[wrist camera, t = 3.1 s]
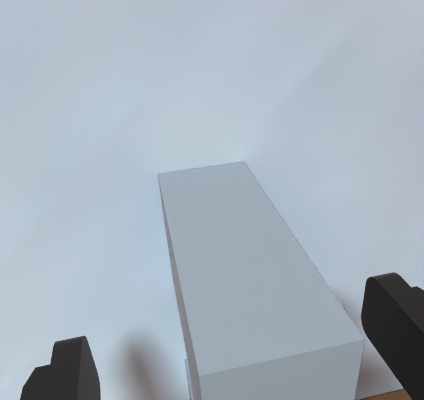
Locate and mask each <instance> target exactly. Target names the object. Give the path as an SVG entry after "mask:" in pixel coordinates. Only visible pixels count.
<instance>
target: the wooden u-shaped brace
mask: <svg viewBox="0 0 424 400" xmlns="http://www.w3.org/2000/svg"><path fill="white" fill-rule="evenodd" d="M361 400H412V399H411V397H410V396H409V395H408V393H407V392H406V390H405V389H403V390H398V391H394V392H390V393H386V394H382V395H378V396H374V397H369V398H365V399H361Z"/></svg>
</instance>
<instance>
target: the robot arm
mask: <svg viewBox="0 0 424 400" xmlns="http://www.w3.org/2000/svg"><path fill="white" fill-rule="evenodd" d="M361 321H362V326H363V329H364V331H365V333H366V335H367V337H368V339H369V340H370V341H371V343H372V344H373V346H374V347H375V348H376V350H377V351H378V353H379V354H380V355H381V357H382V358H383V360H384V361H385V362H386V364H387V365H388V367H389V368H390V369H391V371H392V372H393V374H394V375H395V376H396V378H397V379H398V381H399V382H400V383H401V385H402V386H403V388H404V389H405V390H406V392H407V393H408V395H409V396H410V397H411V399H412V400H424V290H422V289H420V288H419V287H417V286H416V287H412V288H411V287H410V286H409V285H408V284H407V283H406V282H405V280H404V279H403V278H402V277H401V276H400V275H398V274H397V273H388V274H383V275H379V276H374V277H369V278H368V279H367V281H366V286H365V293H364V300H363V306H362V313H361ZM100 398H101V396H100V383H99V377H98V373H97V369H96V366H95V363H94V360H93V357H92V354H91V350H90V347H89V344H88V341H87V338H86V337H85V336H81V337H76V338H71V339H67V340H62V341H57V342H55V344H54V346H53V352H52V358H51V364H50V365H46V366H41V367H36V368H35V369H34V371H33V372H32V374H31V376H30V377H29V379H28V380H27V382H26V383H25V385H24V386H23V389H22V394H21V398H20V400H100Z"/></svg>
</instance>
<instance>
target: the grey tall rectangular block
mask: <svg viewBox="0 0 424 400" xmlns="http://www.w3.org/2000/svg"><path fill="white" fill-rule="evenodd" d="M158 178H159V185H160V192H161V199H162V206H163V213H164V220H165V227H166V234H167V241H168V247H169V254H170V261H171V268H172V275H173V282H174V287H175V293H176V298H177V304H178V309H179V315H180V320H181V326H182V331H183V337H184V342H185V347H186V353H187V358H188V359H187V360H185V365H186V372H187V379H188V386H189V393H190V400H354V399H355V393H356V387H357V382H358V376H359V370H360V365H361V359H362V353H363V348H364V342H365V339H364V337H363V336H362V334H361V333H360V331H359V330H358V328H357V327H356V325H355V324H354V322H353V321H352V319H351V318H350V317H349V315H348V314H347V312H346V311H345V309H344V308H343V306H342V305H341V303H340V302H339V300H338V299H337V297H336V296H335V294H334V293H333V292H332V290H331V289H330V287H329V286H328V284H327V283H326V281H325V280H324V278H323V277H322V275H321V274H320V272H319V271H318V269H317V268H316V267H315V265H314V264H313V262H312V261H311V259H310V258H309V256H308V255H307V253H306V252H305V250H304V249H303V247H302V246H301V244H300V243H299V241H298V240H297V239H296V237H295V236H294V234H293V233H292V231H291V230H290V228H289V227H288V225H287V224H286V222H285V221H284V219H283V218H282V216H281V215H280V214H279V212H278V211H277V209H276V208H275V206H274V205H273V203H272V202H271V200H270V199H269V197H268V196H267V194H266V193H265V191H264V190H263V189H262V187H261V186H260V184H259V183H258V181H257V180H256V178H255V177H254V175H253V174H252V172H251V171H250V169H249V168H248V166H247V165H246V164H245V162H238V163H231V164H224V165H218V166H211V167H204V168H197V169H190V170H183V171H176V172H169V173H162V174H158Z"/></svg>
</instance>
